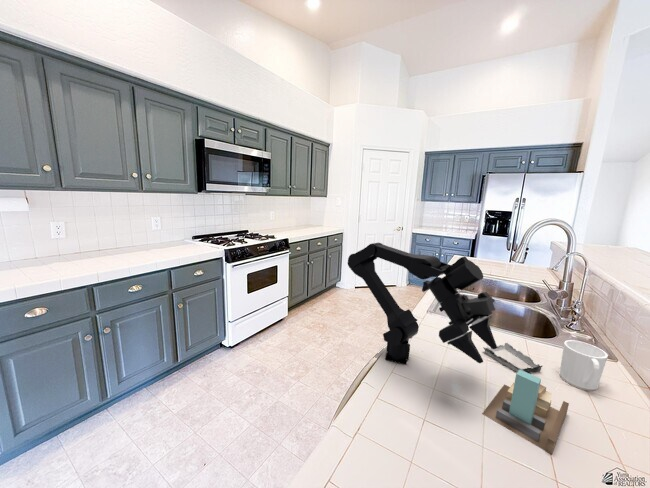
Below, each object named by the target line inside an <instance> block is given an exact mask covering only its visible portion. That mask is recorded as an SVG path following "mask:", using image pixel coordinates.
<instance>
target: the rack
mask: <svg viewBox="0 0 650 488" xmlns="http://www.w3.org/2000/svg"><path fill="white" fill-rule="evenodd" d="M514 383H515V382H512V384H511V385H510V386H509V385H506V384H505V383H504V384H503V386H501V388H500V389H499V391H498V392H497V393H496V395H494V397H493V399H492V400H491V401H490V402H489V403H488V405H487V406H486V408H485V409H484V410H483V412H482V413H481V415H483V416H485V417H487V418H488V419H490V420H492V421H493V422H495V423H497V424H499V425H500V426H502V427H503V428H505V429H507V430H509V431H511V432H512V433H514V434H516V435H517V436H519V437H521V438H522V439H524V440H526V441H527V442H530V443H531V444H533V445H534V446H536V447H537V448H539V449H541V450H543V451H545V452H547V453H548V454H550V455H552V454H553V452H554V449H555V447H556V444H557V441H558V438H559V436H560V433H561V430H562V427H563V424H564V421H565V419H566V417H567V414H568V409H569V404H570V402H566V401H564V400H563V401H562V404H561V406H560V409H556V408H554V407H552V406H551V405H552V392H550V391H547V386H544V384H543V385H542V384H541V383H540V387H539V392H538V397H537V402H536V407H535V411H534V416H533V421H532V426H531V425H529V424H527V423H526V422H524V421H522V420H520V419H518V418H516V417H515V416H513V415H511V414H509V410H510V404H511V399H512V394H513V388H514Z"/></svg>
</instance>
